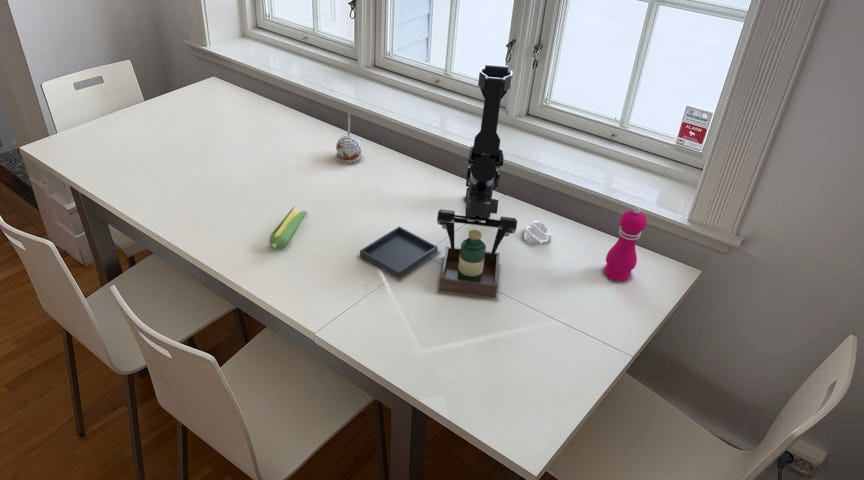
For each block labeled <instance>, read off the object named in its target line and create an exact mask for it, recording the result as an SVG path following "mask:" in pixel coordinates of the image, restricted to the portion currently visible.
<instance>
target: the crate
mask: <svg viewBox="0 0 864 480" xmlns="http://www.w3.org/2000/svg"><path fill="white" fill-rule="evenodd" d="M460 250H461V247H455V246H454V255H452V251H451V246H447V245H446V246H445V251H444V256H443V262H442V268H441V273H440V279H439V290H438V291H441V292H449V293H454V294H455V293H456V294H462V295H463V294H465V295H470V296H479V297H485V298H493V299H496V297H497V290H498V285H499V284H498V283H499V268H500V255H501V254H500V252H497V251H496V252H495V254H494V257H493V259H492V260H491V252H492V251H488V250H486V251H485V259H484V265H483V271H482V277H481V280H480V281H479V282H474V281H466V280H459V279H458V277H457V274H458V264H459V256H460Z"/></svg>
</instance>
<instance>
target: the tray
mask: <svg viewBox="0 0 864 480" xmlns="http://www.w3.org/2000/svg"><path fill="white" fill-rule="evenodd" d="M438 248H439V247H438V246H437V245H435V244H433V243H431V242H430V241H428V240H426V239H424V238H422V237H420V236H419V235H416V234H415V233H413V232H411V231H409V230H408V229H405V228H403V227H401V226H397V227H396V228H394V229H392V230H391V231H389V232H388V233H386V234H384V235H382V236H381V237H379V238H378V239H376V240H375V241H373V242H372V243H370V244H368V245H367V246H365V247H363V248H362V249H360V250H359V258H360V259H362V260H364V261H366V262H367V263H369V264H371V265H373V266H375V267H376V268H378V269H379V270H382V269H383V270H384V271H386V272H387V273H389V274H392V275H393V276H394V277H397V278H398V279H399V278H402V277H403V276H404V275H405V274H407V273H408V272H410V271H411V270H413V269H415V268H416V267H417V266H419V265H420V264H421V263H423V262H424V261H426V260H427V259H429V258H431V256H433V255H434V254H436V253H438V250H439V249H438Z"/></svg>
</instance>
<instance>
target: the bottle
mask: <svg viewBox="0 0 864 480" xmlns="http://www.w3.org/2000/svg"><path fill="white" fill-rule="evenodd" d="M481 238H482V232H481V231H480V230H478V229H472V230H469V231H468V238H466V239H464V240H463V241H462V242H461V244H460V248H461V250H460V256H459V264H458V274H457V277H458V279H459V280H466V281H474V282H479V281H480V280H481V277H482V271H483V265H484V259H485V251H487V245H486V243H485V242H484V241H483V240H482V239H481Z"/></svg>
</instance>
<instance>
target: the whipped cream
mask: <svg viewBox="0 0 864 480" xmlns="http://www.w3.org/2000/svg"><path fill="white" fill-rule="evenodd" d="M523 234H524V235H523V239H524V241H527V240H528V239H533V240H535V241H537V242H538V243H539V244H543V243H546V242H548V241H549V239H550V234H551V233H550V230H549V227H548V226H547V224H545V223H544V222H542V221H539V220H533V221H532V222H531V223H530V224H529V225H527V227H526V228H525V231H524V233H523Z"/></svg>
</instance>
